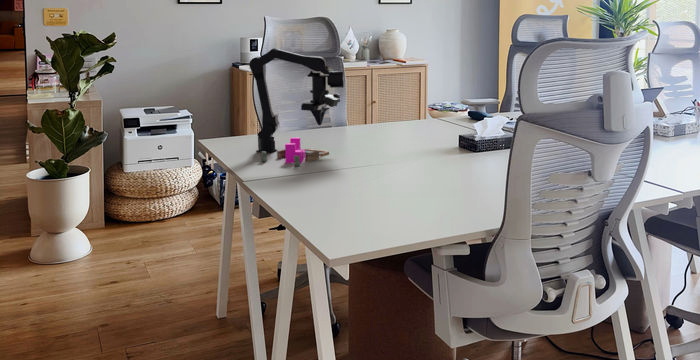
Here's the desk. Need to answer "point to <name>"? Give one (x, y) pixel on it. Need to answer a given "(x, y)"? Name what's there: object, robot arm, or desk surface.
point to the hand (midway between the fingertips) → (319, 125)
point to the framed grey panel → (309, 156)
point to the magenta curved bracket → (294, 150)
